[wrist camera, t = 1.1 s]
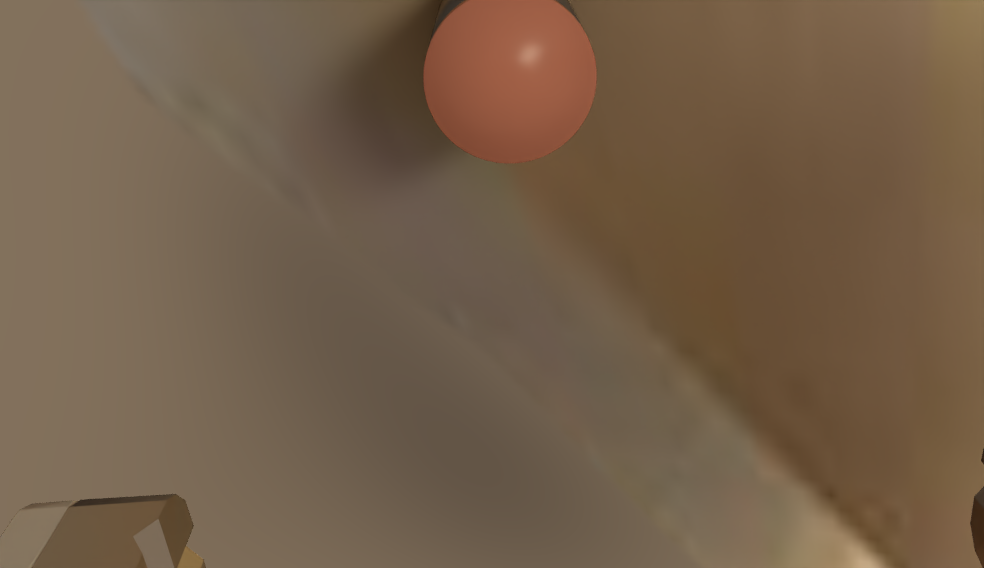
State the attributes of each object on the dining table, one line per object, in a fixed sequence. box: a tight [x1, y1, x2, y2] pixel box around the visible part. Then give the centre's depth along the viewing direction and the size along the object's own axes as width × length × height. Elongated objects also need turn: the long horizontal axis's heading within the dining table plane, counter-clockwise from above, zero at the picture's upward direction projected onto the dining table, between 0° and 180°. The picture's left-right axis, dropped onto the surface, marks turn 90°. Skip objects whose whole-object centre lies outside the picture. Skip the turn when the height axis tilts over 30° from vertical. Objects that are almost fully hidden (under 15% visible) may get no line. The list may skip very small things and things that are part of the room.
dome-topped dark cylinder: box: [423, 0, 597, 163], centre depth 28 cm, size 5×5×8 cm
